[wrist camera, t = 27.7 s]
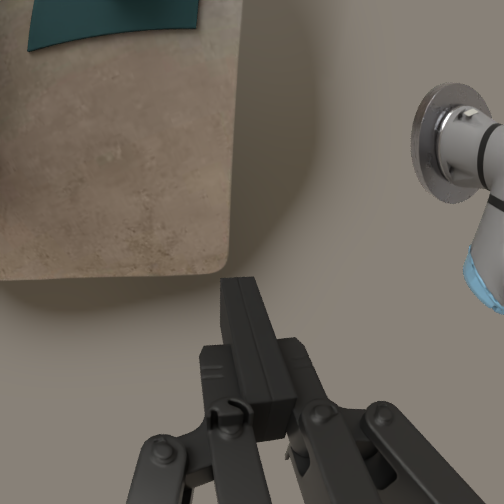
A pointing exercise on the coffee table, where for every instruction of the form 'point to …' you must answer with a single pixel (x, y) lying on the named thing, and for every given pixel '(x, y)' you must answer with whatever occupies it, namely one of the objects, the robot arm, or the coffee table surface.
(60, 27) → the mat
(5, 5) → the coffee table surface
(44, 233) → the coffee table surface
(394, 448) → the robot arm
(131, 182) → the coffee table surface
